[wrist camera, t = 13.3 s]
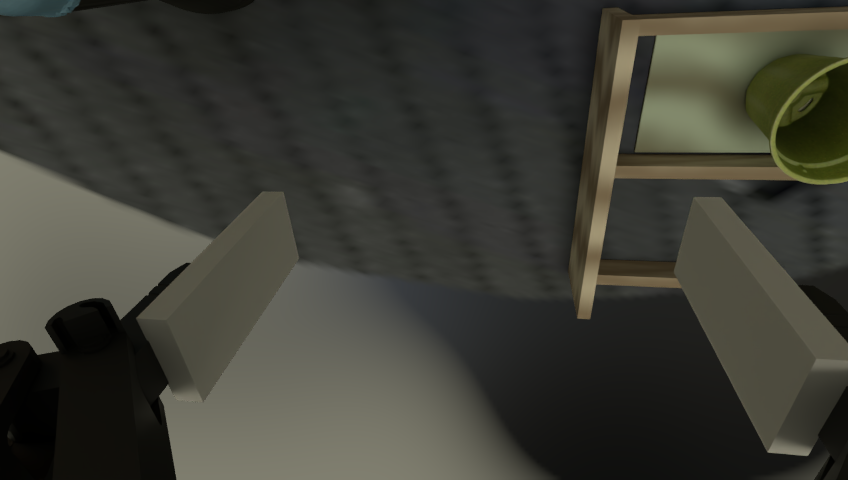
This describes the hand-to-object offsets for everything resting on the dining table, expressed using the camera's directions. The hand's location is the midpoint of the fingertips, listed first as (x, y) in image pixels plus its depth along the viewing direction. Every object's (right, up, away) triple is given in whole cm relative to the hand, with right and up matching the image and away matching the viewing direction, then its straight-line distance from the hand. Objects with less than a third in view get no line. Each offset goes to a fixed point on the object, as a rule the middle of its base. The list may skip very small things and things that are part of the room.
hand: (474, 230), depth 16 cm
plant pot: (+29, +12, +25) cm, 40 cm away
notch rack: (+24, +7, +29) cm, 38 cm away
